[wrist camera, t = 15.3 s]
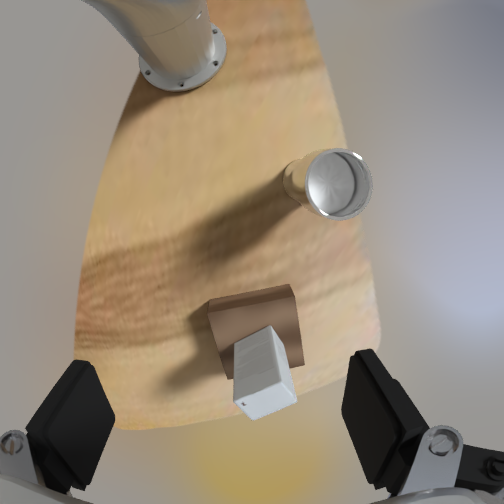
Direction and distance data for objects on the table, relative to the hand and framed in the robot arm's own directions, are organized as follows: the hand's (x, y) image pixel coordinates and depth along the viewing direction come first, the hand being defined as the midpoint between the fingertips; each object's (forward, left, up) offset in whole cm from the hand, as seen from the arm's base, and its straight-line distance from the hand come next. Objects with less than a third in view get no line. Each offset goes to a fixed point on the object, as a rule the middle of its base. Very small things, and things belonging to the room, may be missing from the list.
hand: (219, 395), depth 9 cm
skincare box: (+16, +3, -28) cm, 32 cm away
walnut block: (+16, +2, -33) cm, 36 cm away
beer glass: (-6, +10, -32) cm, 35 cm away
